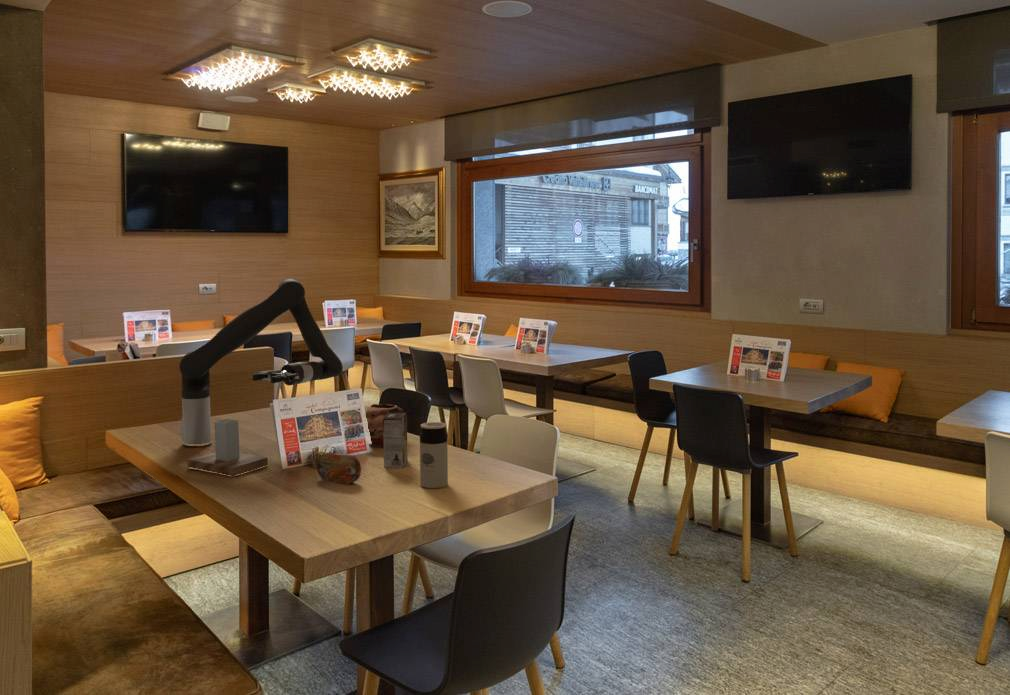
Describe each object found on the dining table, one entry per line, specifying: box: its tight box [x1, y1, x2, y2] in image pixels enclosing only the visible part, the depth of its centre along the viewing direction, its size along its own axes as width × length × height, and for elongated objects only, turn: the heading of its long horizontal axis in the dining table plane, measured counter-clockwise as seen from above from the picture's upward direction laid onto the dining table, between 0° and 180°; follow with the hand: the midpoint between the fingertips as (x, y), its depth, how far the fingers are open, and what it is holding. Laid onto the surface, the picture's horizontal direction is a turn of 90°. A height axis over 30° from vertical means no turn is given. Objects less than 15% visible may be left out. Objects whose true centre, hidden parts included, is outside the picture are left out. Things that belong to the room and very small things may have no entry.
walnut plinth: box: [187, 451, 269, 476], centre depth 245 cm, size 20×14×3 cm
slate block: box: [213, 418, 241, 461], centre depth 244 cm, size 5×5×12 cm
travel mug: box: [419, 421, 449, 490], centre depth 225 cm, size 8×8×18 cm
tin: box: [316, 452, 362, 485], centre depth 229 cm, size 15×3×8 cm, turn 62°
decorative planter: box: [365, 403, 405, 448], centre depth 277 cm, size 20×12×14 cm, turn 152°
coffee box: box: [383, 412, 408, 469], centre depth 249 cm, size 9×6×16 cm
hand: (262, 378), depth 260 cm, fingers open, 8 cm apart
